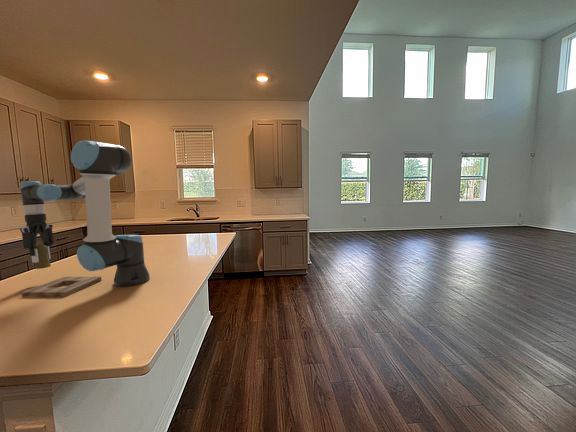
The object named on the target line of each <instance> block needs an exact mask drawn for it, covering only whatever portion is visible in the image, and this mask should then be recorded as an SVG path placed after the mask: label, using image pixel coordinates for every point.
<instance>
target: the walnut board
mask: <svg viewBox="0 0 576 432" xmlns="http://www.w3.org/2000/svg"><path fill="white" fill-rule="evenodd" d="M102 280H103V279H102V276H62V277H59V278H57V279H53V280H51V281H49V282H48V281H47V282H46V283H43V284H40V285H37V286H35V287H32V288H30V289H27V290H24V291H21V297H23V298H25V297H26V298H29V297H31V298H34V297H35V298H37V297H38V298H41V297H42V298H66V297H69V296H70V295H73V294H75V293H76V292H79V291H81V290H83V289H86V288H88V287H90V286H92V285H95V284H98V283H99V282H102ZM64 285H66V286H64ZM62 286H64V287H62Z"/></svg>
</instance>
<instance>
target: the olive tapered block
mask: <svg viewBox="0 0 576 432" xmlns="http://www.w3.org/2000/svg"><path fill="white" fill-rule="evenodd" d="M35 249H37V251H38V258H39V262H34V263H33V264H34V268H33V269H34V270H41V269H46V268H50V267H52V265H51V261H50V259H49V258H48V255H47V252H46V251H47V246H46V245H44V244H36V246H35Z"/></svg>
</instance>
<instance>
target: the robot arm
mask: <svg viewBox="0 0 576 432" xmlns="http://www.w3.org/2000/svg"><path fill="white" fill-rule="evenodd" d="M70 161H71V164H72V165H73V167H74V168H75V169H77V170H78V173H79V175H80V176H81V177H80V178H78V179H77V180H76V181H74V182H73V183H71V184H51V183H44V184H42V182H40V181H37V180H36V181H35V180H34V181H33V180H32V181H31V180H29V181H21V182H20V184H19V187H20V189H19V191H20V196H21V201H22V207H23V214H24V221H25V223H26V226H24V227H21V228H20V229H19V231H20V233H21V236H22V237H21V238H22V243H23V244H22V245H23V249H26V250H29V256H30V257H31V262H32V264H35V262H39V258H38V251H37V249H35V246H37V237H38V235H39V237H40V239H41V241H42V243H43V244H42V245H46V246H47V251H46V252H47V255H48V258H49V260H51V259H52V258H51V256H52V255H51V251H52V249H51V246H53V245H54V244H55V240H54V235H53V234H54V233H53V226H54V225H53V224H48V223H47V222H46V221H47V214H46V206H45V202H53V201H66V200H67V201H68V200H85V209H86V210H85V211H86V213H85V214H86V227H87V229H86V230H87V236H85V237H84V238H83V239H82V240H83V244H82V245H81V246H79V247H78V248H77V251H76V257H77V261H78V262H79V264H80V265H81V266H82V268H83V269H85V270H86V271H88V272H96V271H102V270H104V269H107V268H111V267H114V266H116V271H115V274H114V278H113V285H114V286H115V287H132V286H136V285H140V284H143V283H146V282H147V281H149V280H150V278H151V277H150V272H149V270H148V268H147V266H146V263H145V254H144V242H143V237H142V235H139V234H116V235H115V234H114V233H113V229H112V227H113V226H112V224H113V223H112V222H113V221H112V205H111V204H112V203H111V186H110V184H111V179H112V178H114V177H116V176H121V175H123V174H125V173H127V172H128V171H129V169H130V168H131V167H132V164H133V158H132V155H131V153H130V151H129V150H127V149H126V148H125V147H124V146H121V145H119V144H113V143H107V142H101V141H95V140H87V139H86V140H80V141H77V142H76V143H75V144H74V146H73V148H72V150H71V152H70Z"/></svg>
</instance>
